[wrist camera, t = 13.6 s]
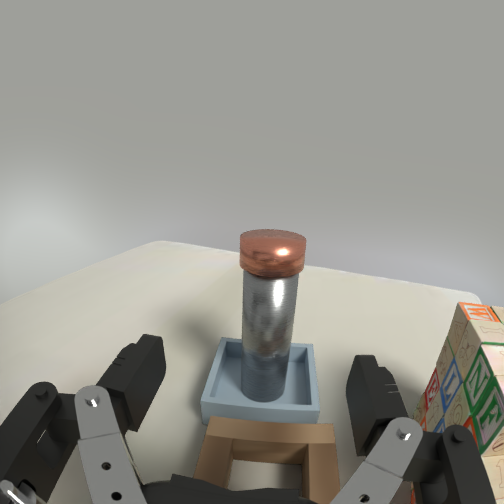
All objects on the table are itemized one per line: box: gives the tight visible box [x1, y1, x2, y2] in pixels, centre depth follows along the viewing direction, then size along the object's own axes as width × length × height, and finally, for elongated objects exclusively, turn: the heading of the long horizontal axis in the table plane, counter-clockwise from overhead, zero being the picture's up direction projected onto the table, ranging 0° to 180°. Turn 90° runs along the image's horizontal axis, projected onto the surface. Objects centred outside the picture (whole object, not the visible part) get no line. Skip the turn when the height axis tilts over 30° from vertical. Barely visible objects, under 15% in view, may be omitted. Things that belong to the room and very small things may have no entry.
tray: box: [200, 337, 320, 424], centre depth 26 cm, size 9×9×3 cm
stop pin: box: [240, 229, 306, 403], centre depth 23 cm, size 5×5×14 cm
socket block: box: [193, 416, 340, 504], centre depth 16 cm, size 9×9×3 cm
